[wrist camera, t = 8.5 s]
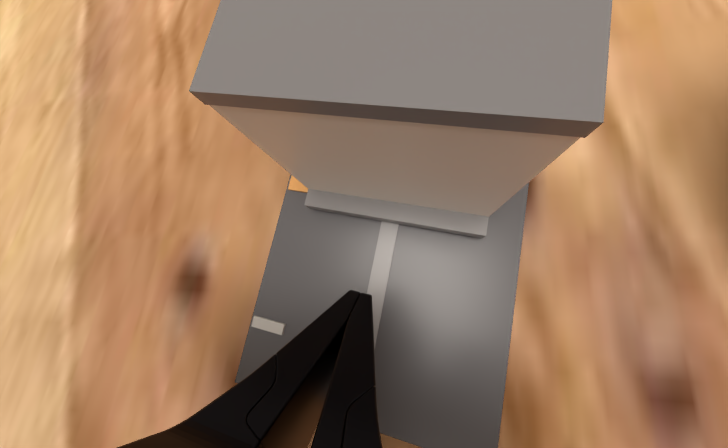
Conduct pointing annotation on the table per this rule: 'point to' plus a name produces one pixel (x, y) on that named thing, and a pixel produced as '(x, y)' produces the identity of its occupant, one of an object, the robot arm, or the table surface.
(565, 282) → the table surface
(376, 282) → the fader console
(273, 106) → the fader knob
